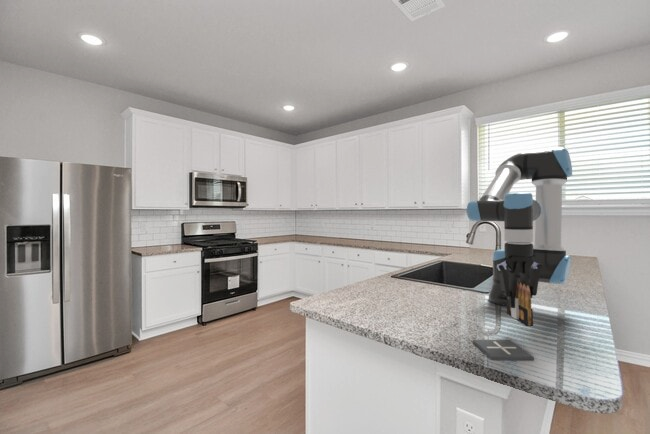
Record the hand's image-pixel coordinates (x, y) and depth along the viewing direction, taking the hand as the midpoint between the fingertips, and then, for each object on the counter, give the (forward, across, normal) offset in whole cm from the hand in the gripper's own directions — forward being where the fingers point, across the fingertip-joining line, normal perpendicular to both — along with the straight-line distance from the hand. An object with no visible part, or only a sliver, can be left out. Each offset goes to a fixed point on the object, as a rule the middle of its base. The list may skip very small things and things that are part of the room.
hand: (519, 317), depth 95 cm
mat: (+6, +11, +10) cm, 15 cm away
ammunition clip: (+1, 0, 0) cm, 1 cm away
